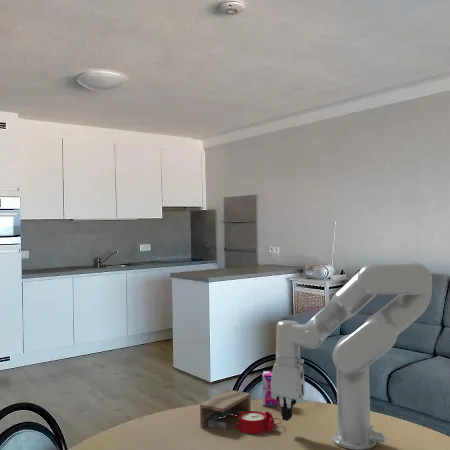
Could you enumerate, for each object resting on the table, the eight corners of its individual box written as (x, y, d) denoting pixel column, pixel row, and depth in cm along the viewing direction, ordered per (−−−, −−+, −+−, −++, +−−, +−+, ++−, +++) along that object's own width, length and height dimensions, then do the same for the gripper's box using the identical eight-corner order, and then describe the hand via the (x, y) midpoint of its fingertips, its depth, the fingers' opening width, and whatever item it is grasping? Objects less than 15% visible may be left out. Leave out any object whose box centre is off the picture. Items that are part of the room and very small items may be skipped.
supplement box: (262, 406, 177) (261, 375, 178) (263, 401, 183) (263, 370, 184) (278, 407, 177) (277, 375, 177) (279, 401, 182) (278, 371, 183)
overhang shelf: (250, 415, 168) (250, 393, 169) (223, 432, 153) (223, 408, 153) (228, 411, 173) (228, 389, 173) (200, 427, 158) (200, 404, 158)
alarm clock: (232, 412, 162) (275, 400, 163) (236, 430, 162) (279, 418, 163) (234, 423, 152) (280, 411, 152) (239, 443, 151) (284, 430, 152)
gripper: (314, 361, 151) (313, 420, 151) (271, 354, 159) (270, 410, 159) (305, 366, 145) (304, 428, 144) (261, 359, 153) (259, 417, 152)
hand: (286, 419), depth 152 cm, fingers closed
